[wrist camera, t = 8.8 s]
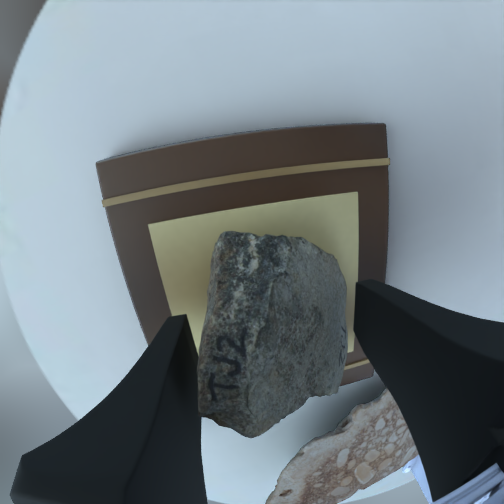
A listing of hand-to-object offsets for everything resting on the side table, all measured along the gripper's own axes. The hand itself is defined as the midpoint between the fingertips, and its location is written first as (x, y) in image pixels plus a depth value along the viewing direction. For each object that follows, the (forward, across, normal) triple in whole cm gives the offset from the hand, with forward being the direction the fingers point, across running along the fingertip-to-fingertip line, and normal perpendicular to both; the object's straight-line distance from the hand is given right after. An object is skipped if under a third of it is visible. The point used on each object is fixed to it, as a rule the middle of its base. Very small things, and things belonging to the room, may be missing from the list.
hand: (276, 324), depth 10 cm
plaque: (+3, 0, 0) cm, 3 cm away
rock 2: (+3, -6, +12) cm, 14 cm away
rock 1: (+2, 0, 0) cm, 2 cm away
